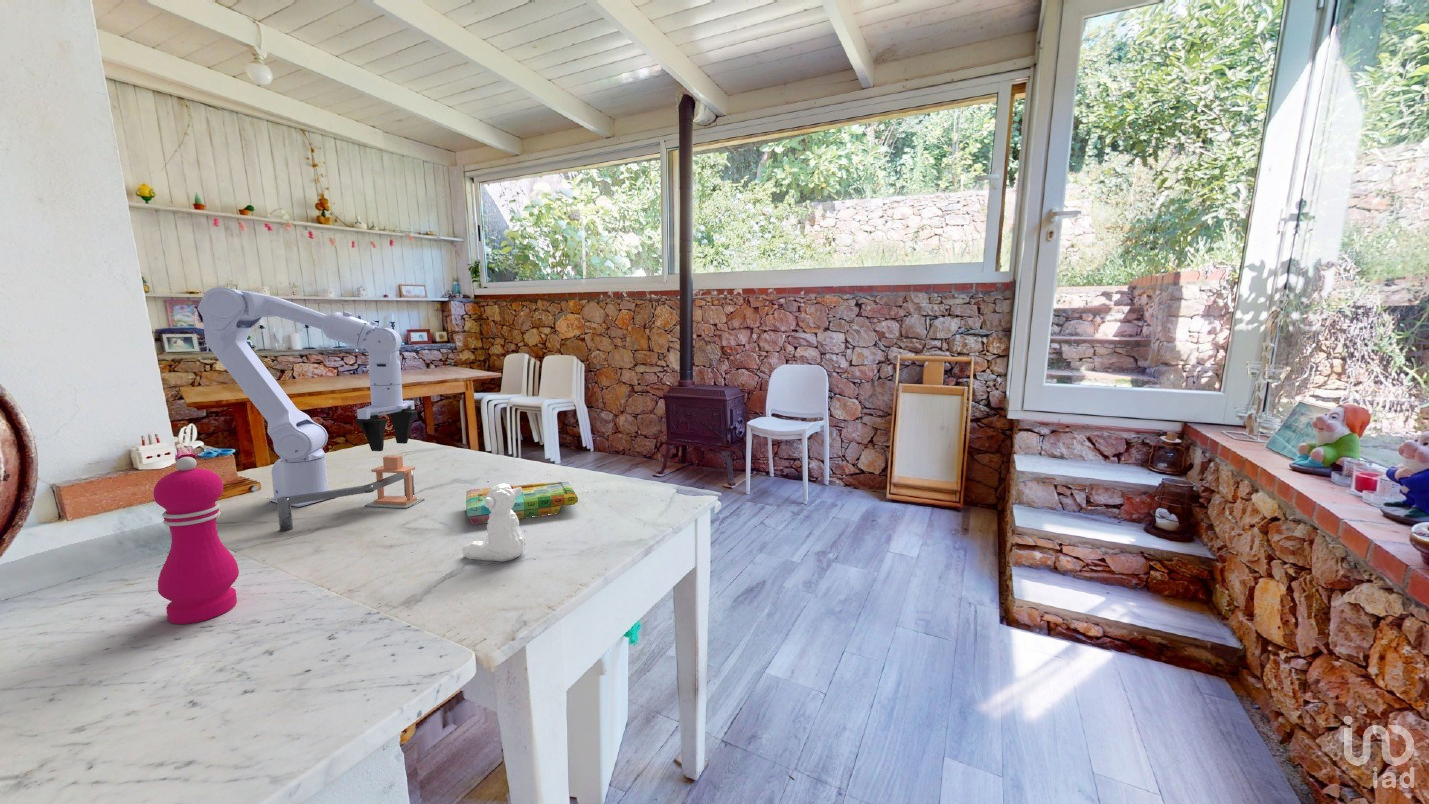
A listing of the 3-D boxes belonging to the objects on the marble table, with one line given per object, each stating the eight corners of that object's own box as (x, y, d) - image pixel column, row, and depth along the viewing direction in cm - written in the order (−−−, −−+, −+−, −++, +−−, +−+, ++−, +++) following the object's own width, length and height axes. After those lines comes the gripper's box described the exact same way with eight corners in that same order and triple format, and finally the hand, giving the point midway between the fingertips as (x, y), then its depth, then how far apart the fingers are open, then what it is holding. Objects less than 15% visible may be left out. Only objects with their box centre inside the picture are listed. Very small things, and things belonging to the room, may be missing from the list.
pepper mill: (171, 634, 60) (150, 467, 58) (154, 615, 64) (134, 458, 62) (251, 607, 66) (235, 455, 64) (231, 591, 70) (215, 447, 68)
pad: (406, 508, 104) (406, 507, 104) (364, 506, 104) (364, 505, 104) (424, 499, 109) (424, 498, 109) (384, 497, 110) (384, 496, 110)
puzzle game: (466, 486, 104) (567, 477, 113) (467, 509, 105) (568, 497, 114) (465, 504, 94) (577, 492, 102) (467, 529, 95) (577, 515, 103)
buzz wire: (277, 530, 91) (274, 499, 90) (400, 492, 113) (398, 467, 113) (306, 537, 89) (303, 504, 88) (426, 497, 111) (425, 471, 110)
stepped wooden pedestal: (406, 505, 105) (403, 459, 103) (373, 503, 105) (370, 457, 104) (416, 500, 108) (414, 455, 107) (384, 498, 109) (382, 453, 107)
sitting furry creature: (513, 538, 90) (511, 471, 89) (544, 551, 85) (542, 480, 84) (460, 557, 82) (457, 484, 81) (491, 572, 78) (488, 495, 76)
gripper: (378, 388, 102) (383, 455, 104) (425, 381, 116) (428, 440, 118) (345, 387, 103) (350, 453, 105) (396, 380, 117) (399, 439, 119)
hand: (390, 446), depth 111 cm, fingers open, 7 cm apart
